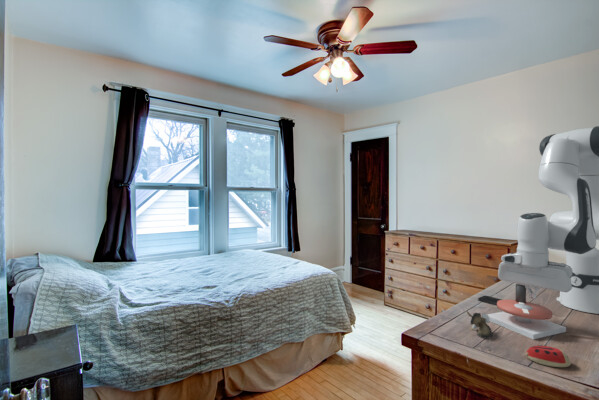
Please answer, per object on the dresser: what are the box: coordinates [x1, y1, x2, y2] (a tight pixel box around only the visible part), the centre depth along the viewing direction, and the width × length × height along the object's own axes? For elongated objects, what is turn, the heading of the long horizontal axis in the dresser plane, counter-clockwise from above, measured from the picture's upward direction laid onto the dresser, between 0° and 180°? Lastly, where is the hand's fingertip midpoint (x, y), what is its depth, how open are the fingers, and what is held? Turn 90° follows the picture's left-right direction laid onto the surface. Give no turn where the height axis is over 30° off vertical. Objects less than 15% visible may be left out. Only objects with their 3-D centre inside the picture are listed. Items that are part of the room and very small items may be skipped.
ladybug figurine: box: [525, 344, 572, 368], centre depth 77 cm, size 7×10×4 cm
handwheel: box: [496, 283, 553, 321], centre depth 99 cm, size 15×15×7 cm
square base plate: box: [486, 311, 567, 340], centre depth 99 cm, size 16×16×4 cm
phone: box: [477, 295, 503, 307], centre depth 119 cm, size 8×1×15 cm
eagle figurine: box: [465, 311, 493, 339], centre depth 94 cm, size 8×7×9 cm
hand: (532, 298), depth 102 cm, fingers closed
